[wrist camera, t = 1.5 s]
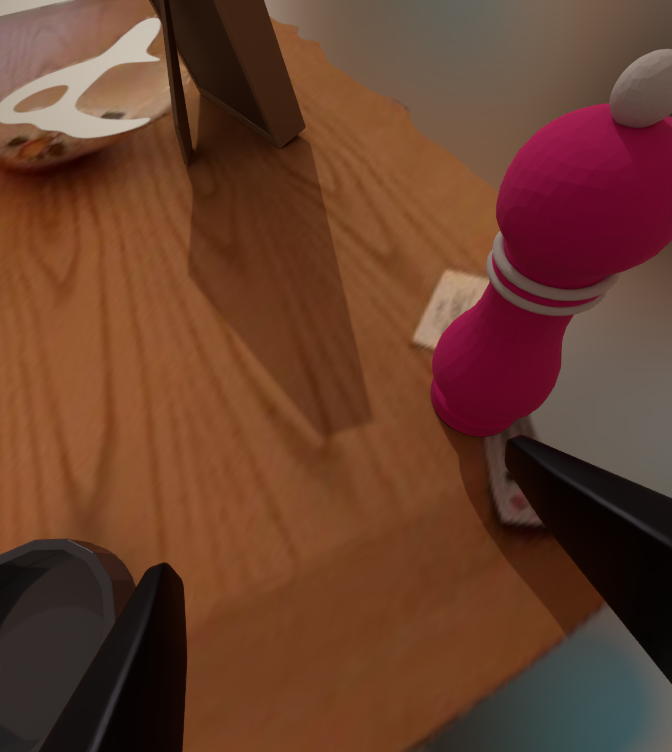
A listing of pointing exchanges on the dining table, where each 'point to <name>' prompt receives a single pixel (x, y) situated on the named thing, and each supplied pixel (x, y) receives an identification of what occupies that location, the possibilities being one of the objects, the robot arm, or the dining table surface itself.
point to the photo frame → (229, 66)
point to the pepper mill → (560, 247)
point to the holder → (52, 630)
